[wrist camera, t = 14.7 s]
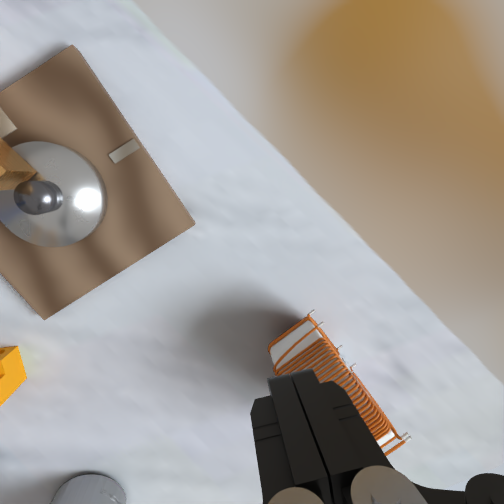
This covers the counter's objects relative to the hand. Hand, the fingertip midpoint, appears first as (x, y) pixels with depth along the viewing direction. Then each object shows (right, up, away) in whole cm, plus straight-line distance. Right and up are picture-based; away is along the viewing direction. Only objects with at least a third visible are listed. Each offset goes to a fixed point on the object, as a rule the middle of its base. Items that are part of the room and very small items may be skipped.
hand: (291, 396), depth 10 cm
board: (-21, +11, +23) cm, 33 cm away
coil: (+6, -8, +31) cm, 33 cm away
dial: (-23, +12, +20) cm, 33 cm away
